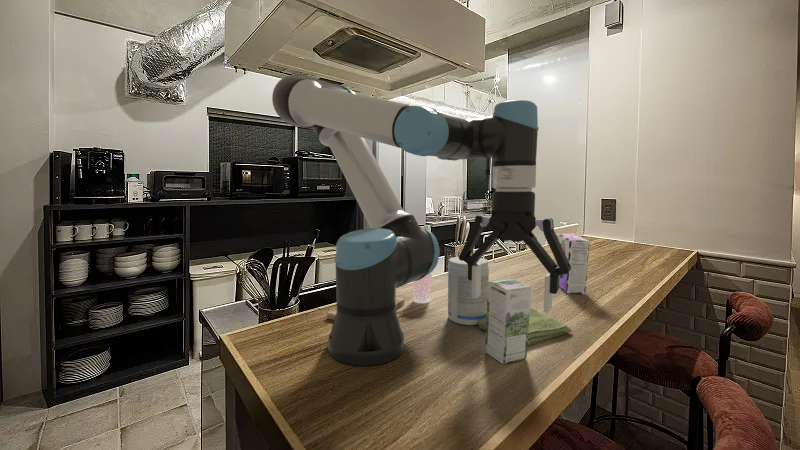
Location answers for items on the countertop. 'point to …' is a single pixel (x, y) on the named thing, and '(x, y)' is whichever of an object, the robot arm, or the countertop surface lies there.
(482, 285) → the supplement tub
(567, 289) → the candy box
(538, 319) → the washcloth
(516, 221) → the robot arm
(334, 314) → the beech cutting board
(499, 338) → the syrup box
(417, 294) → the beverage cup
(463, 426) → the countertop surface
